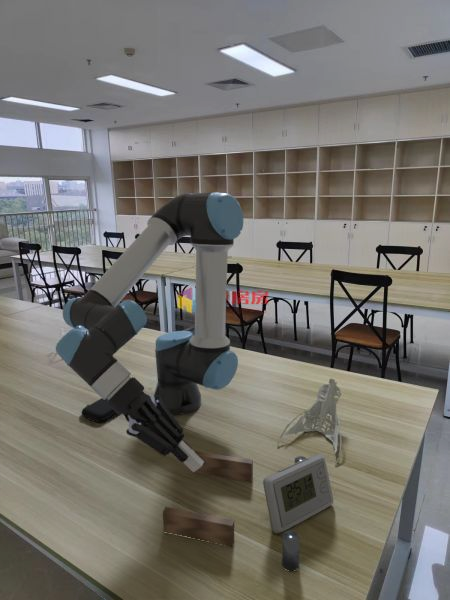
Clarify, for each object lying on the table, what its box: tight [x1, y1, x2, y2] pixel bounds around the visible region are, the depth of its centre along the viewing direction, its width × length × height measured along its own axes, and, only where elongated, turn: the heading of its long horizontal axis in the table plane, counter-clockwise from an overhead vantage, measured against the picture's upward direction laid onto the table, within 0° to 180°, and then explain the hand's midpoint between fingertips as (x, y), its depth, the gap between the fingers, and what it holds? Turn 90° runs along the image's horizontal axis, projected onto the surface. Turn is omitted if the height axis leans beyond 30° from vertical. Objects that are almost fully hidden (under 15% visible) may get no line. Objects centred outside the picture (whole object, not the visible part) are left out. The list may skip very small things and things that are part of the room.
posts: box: [281, 455, 307, 572], centre depth 84 cm, size 3×25×6 cm, turn 165°
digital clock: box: [262, 453, 334, 534], centre depth 86 cm, size 16×9×11 cm, turn 110°
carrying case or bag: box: [81, 397, 118, 424], centre depth 128 cm, size 11×3×15 cm
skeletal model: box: [276, 377, 343, 467], centre depth 113 cm, size 16×9×25 cm
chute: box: [162, 450, 254, 548], centre depth 89 cm, size 14×20×5 cm
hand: (198, 467), depth 87 cm, fingers closed
